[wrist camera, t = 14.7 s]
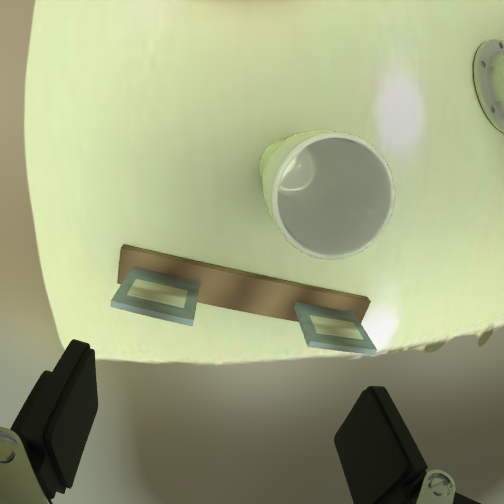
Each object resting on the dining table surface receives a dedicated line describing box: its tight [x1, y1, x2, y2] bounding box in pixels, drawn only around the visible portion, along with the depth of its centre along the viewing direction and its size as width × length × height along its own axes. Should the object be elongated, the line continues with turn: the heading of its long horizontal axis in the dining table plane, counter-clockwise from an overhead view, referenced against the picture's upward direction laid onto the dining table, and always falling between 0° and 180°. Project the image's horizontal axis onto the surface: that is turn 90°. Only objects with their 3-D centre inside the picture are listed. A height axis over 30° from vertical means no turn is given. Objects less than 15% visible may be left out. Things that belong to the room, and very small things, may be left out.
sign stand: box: [111, 245, 377, 355], centre depth 30 cm, size 27×4×8 cm, turn 75°
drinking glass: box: [260, 130, 395, 260], centre depth 23 cm, size 7×7×15 cm
